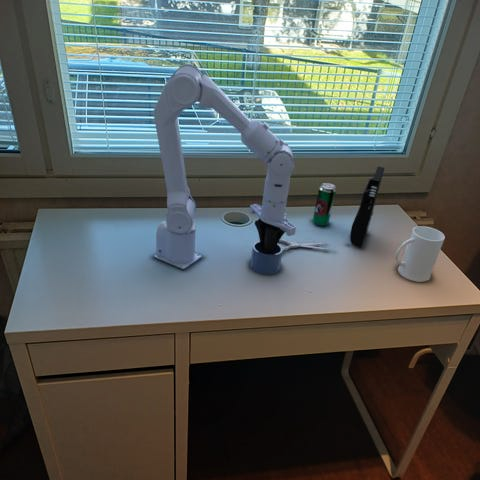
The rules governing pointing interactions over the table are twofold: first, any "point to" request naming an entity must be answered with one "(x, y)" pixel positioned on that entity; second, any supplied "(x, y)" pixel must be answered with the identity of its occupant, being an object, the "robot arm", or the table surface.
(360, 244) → the black tapered piece
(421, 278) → the mug
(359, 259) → the table surface
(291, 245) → the scissors
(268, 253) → the dark brown square post
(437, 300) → the table surface
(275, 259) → the cup
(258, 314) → the table surface
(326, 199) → the soda can
